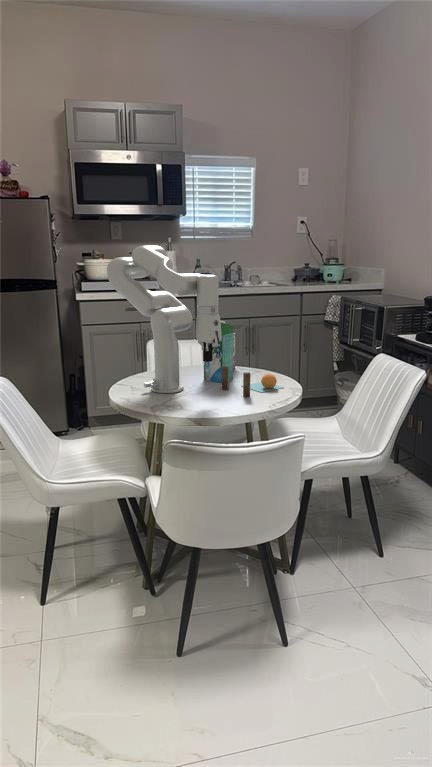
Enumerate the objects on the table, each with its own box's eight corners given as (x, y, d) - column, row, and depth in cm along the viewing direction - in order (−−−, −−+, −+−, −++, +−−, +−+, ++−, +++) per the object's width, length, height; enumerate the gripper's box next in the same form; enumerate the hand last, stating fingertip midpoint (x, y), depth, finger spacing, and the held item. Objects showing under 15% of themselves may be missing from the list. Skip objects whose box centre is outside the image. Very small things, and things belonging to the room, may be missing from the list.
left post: (224, 390, 205) (224, 367, 202) (220, 389, 207) (220, 366, 204) (229, 389, 206) (229, 367, 204) (225, 388, 208) (225, 365, 206)
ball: (281, 376, 205) (276, 391, 205) (273, 374, 211) (269, 389, 211) (268, 372, 203) (264, 387, 203) (261, 371, 208) (256, 385, 208)
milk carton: (233, 378, 224) (233, 319, 218) (221, 383, 216) (222, 322, 210) (215, 376, 228) (215, 318, 222) (203, 380, 221) (203, 320, 215)
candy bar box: (224, 367, 245) (225, 332, 241) (235, 368, 244) (235, 332, 240) (220, 373, 234) (220, 336, 230) (231, 373, 233) (231, 336, 229)
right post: (246, 397, 195) (246, 374, 192) (241, 396, 197) (241, 372, 194) (251, 396, 196) (251, 373, 194) (247, 395, 198) (247, 371, 196)
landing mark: (261, 392, 201) (261, 392, 201) (241, 386, 211) (241, 386, 211) (284, 387, 209) (284, 387, 208) (263, 382, 218) (263, 381, 218)
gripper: (229, 311, 182) (228, 363, 187) (203, 307, 194) (203, 356, 198) (212, 313, 178) (211, 366, 182) (187, 309, 189) (187, 359, 194)
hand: (207, 361), depth 190 cm, fingers closed
